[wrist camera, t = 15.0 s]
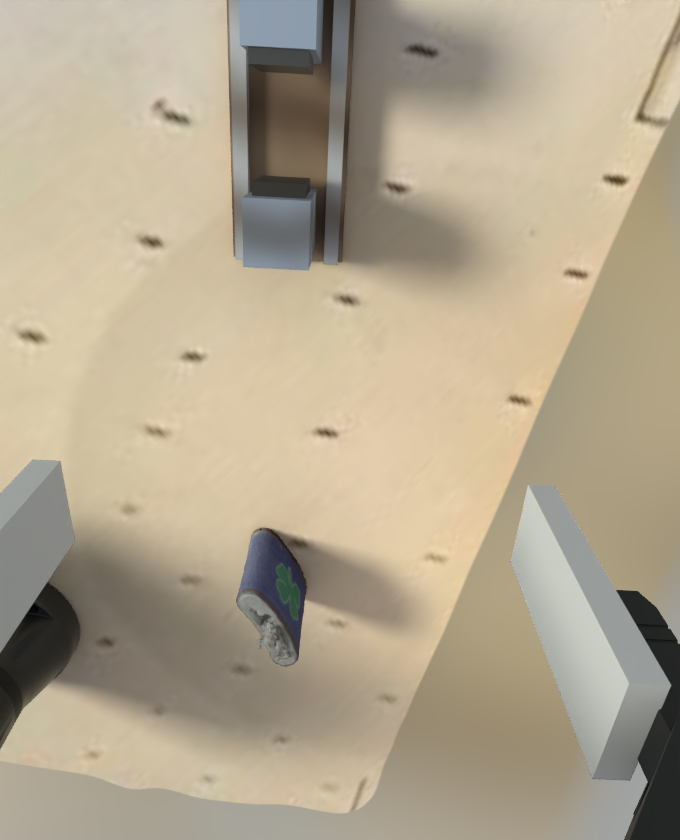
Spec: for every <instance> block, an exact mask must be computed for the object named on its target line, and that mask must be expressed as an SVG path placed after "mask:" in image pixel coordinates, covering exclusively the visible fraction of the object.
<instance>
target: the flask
mask: <svg viewBox="0 0 680 840" xmlns="http://www.w3.org/2000/svg"><path fill="white" fill-rule="evenodd" d="M260 529H262V530H256V531H254V532H253V534H252V536H251V540H250V545H249V551H248V556H247V561H246V564H245V568H244V574H243V577H242V581H241V585H240V589H239V593H238V596H237V599H236V602H237V605H238V607H239V609H240V610H241V611H242V612H244V614H245V615H246V616H247V617H248V618H249V619H250V620H251V622H252V623H253V624H254V625H255V627H256V628H257V630H258V631H259V633H260V634H261V638H262V639H258V641H257V644H258V648H259V649H261V645H264V644H265V645H266V647H267V649H268V650H269V652H270V656H271V658H272V660H273V661H274V662H275V663H276V664H280V665H281V666H289V665H293V664H294V663H295V662H296V661H297V660H298V657H299V646H300V637H301V625H302V618H303V612H304V601H305V595H306V589H307V586H306V580H305V577H304V575H303V572H302V571H301V567H300V565H299V564H298V563H297V560H296V559H295V558H294V557H293V555H292V553H291V552H290V551H289V549H288V548H287V546H285V544H284V542H283V541H282V540H281V539H280V538H279V536H278V535H276V534H275V533H274V532H273V531H272V530H269V529H268V528H260Z"/></svg>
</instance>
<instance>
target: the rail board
mask: <svg viewBox="0 0 680 840" xmlns="http://www.w3.org/2000/svg"><path fill="white" fill-rule="evenodd" d="M354 17H355V0H324V14H323V46H322V65H321V64H313V75H307V74H289V73H272V72H260V71H259V70H257V69H256V68H254V67H253V66H251V65H249V64H248V51H247V50H245V49H244V48H243V47H242V46H240V31H239V0H227V28H228V64H229V100H230V136H231V173H232V209H233V245H234V256H235V257H236V259H239V260H243V267H255V268H273V269H291V270H309V268H310V264H311V261H324V264H330V265H337V264H338V262H342V247H343V227H344V208H345V189H346V170H347V151H348V132H349V112H350V93H351V74H352V55H353V36H354Z"/></svg>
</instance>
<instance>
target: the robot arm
mask: <svg viewBox="0 0 680 840" xmlns="http://www.w3.org/2000/svg"><path fill="white" fill-rule="evenodd" d="M74 541H75V538H74V533H73V527H72V522H71V517H70V511H69V506H68V500H67V495H66V489H65V484H64V478H63V473H62V467H61V462H60V461H50V460H32V461H31V462H30V463H29V464H28V465H27V466H26V467H25V468H24V469H23V470H22V471H21V472H20V473H19V475H18V476H17V477H16V478H15V479H14V480H13V481H12V482H11V483H10V484H9V485H8V486H7V487H6V488H5V489H4V490H3V491H2V492H1V493H0V749H1V747H2V745H3V744H4V742H5V740H6V738H7V736H8V735H9V733H10V731H11V729H12V727H13V725H14V723H15V722H16V720H17V718H18V716H19V715H20V713H21V711H22V710H23V708H24V707H25V706H26V705H27V704H28V703H30V702H31V701H32V700H33V699H34V698H35V697H36V696H37V695H38V694H39V693H40V692H41V691H42V690H43V689H44V688H45V687H46V686H47V685H48V684H49V683H50V682H51V681H52V680H53V679H54V678H56V677H57V676H58V675H59V674H60V673H61V672H62V671H63V670H64V668H65V667H66V666H67V664H68V662H69V661H70V659H71V657H72V655H73V653H74V651H75V649H76V647H77V645H78V641H79V635H80V630H79V624H78V620H77V617H76V615H75V613H74V611H73V609H72V608H71V606H70V605H69V603H68V602H67V601H66V600H65V598H64V597H63V596H62V595H61V594H60V593H59V592H57V591H56V590H55V589H54V588H53V587H51V586H50V585H48V584H47V582H48V580H49V579H50V577H51V576H52V574H53V573H54V571H55V570H56V568H57V567H58V565H59V564H60V562H61V561H62V559H63V558H64V556H65V555H66V553H67V552H68V550H69V549H70V547H71V546H72V544H73V543H74ZM511 564H512V566H513V569H514V572H515V574H516V577H517V580H518V582H519V585H520V588H521V590H522V593H523V596H524V598H525V601H526V604H527V606H528V609H529V612H530V614H531V617H532V620H533V622H534V625H535V628H536V630H537V633H538V636H539V638H540V641H541V644H542V646H543V649H544V651H545V654H546V657H547V659H548V662H549V664H550V667H551V670H552V673H553V675H554V678H555V681H556V683H557V686H558V689H559V691H560V694H561V697H562V699H563V702H564V704H565V707H566V710H567V713H568V715H569V718H570V721H571V723H572V726H573V729H574V731H575V734H576V736H577V739H578V741H579V744H580V747H581V750H582V752H583V755H584V758H585V760H586V763H587V766H588V768H589V771H590V774H591V776H592V779H606V780H629V781H630V780H631V778H632V775H633V773H634V771H635V768H636V766H637V764H638V761H639V763H640V765H641V768H642V770H643V772H644V774H645V776H646V778H647V781H648V783H647V785H646V787H645V790H644V792H643V794H642V796H641V798H640V800H639V803H638V805H637V807H636V809H635V811H634V817H633V819H632V822H631V824H630V826H629V829H628V832H627V834H626V836H625V839H624V840H680V644H678V643H677V639H676V637H675V636H674V634H673V633H672V631H671V629H668V625H667V623H666V622H665V620H664V619H663V617H662V616H661V614H660V612H659V611H658V609H657V608H656V607H655V606H654V605H653V604H651V602H649V601H648V600H647V599H646V598H645V597H643V596H642V595H641V594H640V593H639V592H638V591H623V590H616V589H615V588H614V586H613V584H612V583H611V581H610V579H609V578H608V576H607V574H606V572H605V571H604V569H603V567H602V566H601V564H600V562H599V560H598V558H597V557H596V555H595V553H594V552H593V550H592V548H591V546H590V545H589V543H588V541H587V540H586V538H585V536H584V534H583V533H582V531H581V529H580V527H579V526H578V524H577V522H576V521H575V519H574V517H573V516H572V514H571V512H570V510H569V509H568V507H567V505H566V503H565V502H564V500H563V498H562V497H561V495H560V493H559V491H558V490H557V488H556V486H544V485H528V488H527V493H526V497H525V502H524V506H523V510H522V515H521V519H520V524H519V528H518V533H517V537H516V542H515V545H514V551H513V554H512V559H511Z"/></svg>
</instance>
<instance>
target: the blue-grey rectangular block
mask: <svg viewBox="0 0 680 840" xmlns="http://www.w3.org/2000/svg"><path fill="white" fill-rule="evenodd" d="M323 14H324V0H239V31H240V46H242V47H243V48H244V49H245V50H247V51H248V64H249V65H251V66H253V67H254V68H256V69H257V70H259V71H260V72H272V73H289V74H307V75H313V64H321V65H322V46H323Z"/></svg>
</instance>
